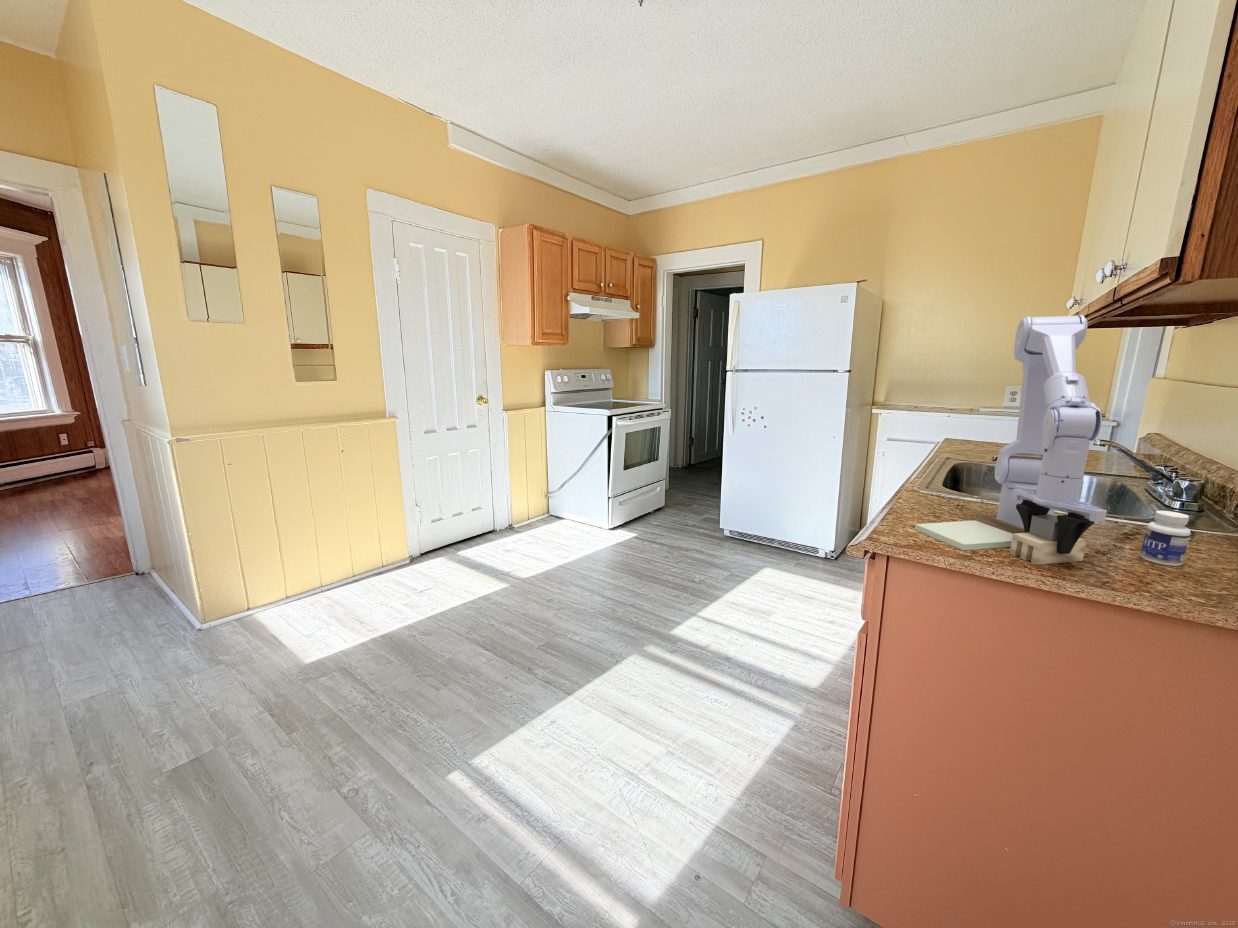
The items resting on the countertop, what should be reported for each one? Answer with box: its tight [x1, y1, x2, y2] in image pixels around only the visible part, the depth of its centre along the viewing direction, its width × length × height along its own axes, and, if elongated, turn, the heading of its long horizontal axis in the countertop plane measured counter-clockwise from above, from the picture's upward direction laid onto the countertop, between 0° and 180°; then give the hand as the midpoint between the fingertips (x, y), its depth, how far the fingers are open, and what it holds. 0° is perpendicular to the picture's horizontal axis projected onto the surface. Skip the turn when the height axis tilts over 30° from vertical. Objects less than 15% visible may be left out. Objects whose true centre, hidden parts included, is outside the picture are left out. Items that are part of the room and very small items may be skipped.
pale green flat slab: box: [914, 513, 1025, 551], centre depth 99 cm, size 16×12×3 cm
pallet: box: [1009, 533, 1088, 566], centre depth 89 cm, size 10×5×4 cm, turn 100°
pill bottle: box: [1139, 510, 1191, 567], centre depth 87 cm, size 5×5×9 cm
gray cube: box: [1029, 514, 1059, 541], centre depth 88 cm, size 4×4×4 cm
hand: (1047, 547), depth 89 cm, fingers closed on pallet, 5 cm apart
